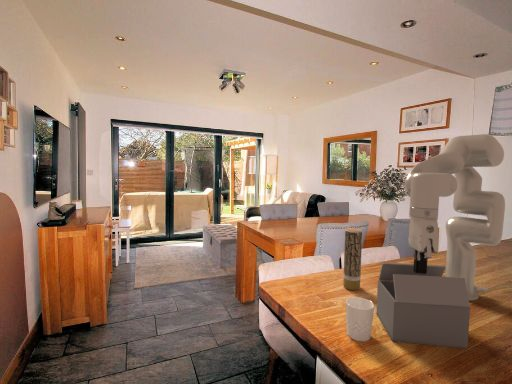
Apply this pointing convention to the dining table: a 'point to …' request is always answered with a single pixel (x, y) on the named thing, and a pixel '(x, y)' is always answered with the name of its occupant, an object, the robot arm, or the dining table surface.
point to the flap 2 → (431, 290)
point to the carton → (421, 320)
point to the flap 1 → (407, 270)
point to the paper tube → (352, 258)
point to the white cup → (359, 318)
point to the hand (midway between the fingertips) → (419, 272)
